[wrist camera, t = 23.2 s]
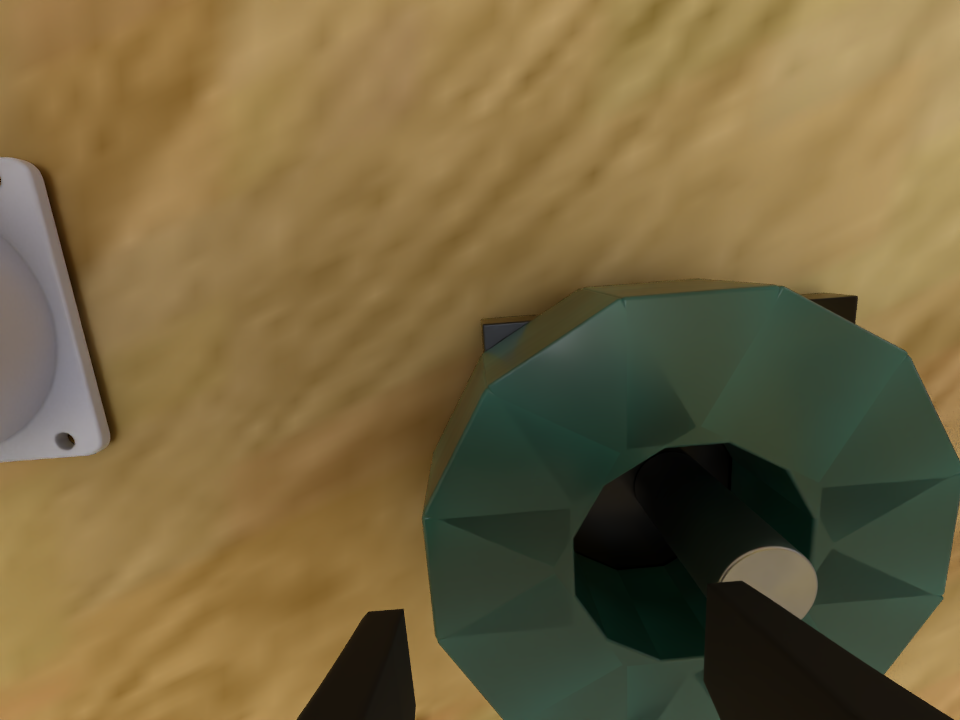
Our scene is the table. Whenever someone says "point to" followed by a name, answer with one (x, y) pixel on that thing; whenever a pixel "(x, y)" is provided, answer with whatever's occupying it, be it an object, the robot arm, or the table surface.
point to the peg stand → (691, 511)
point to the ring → (641, 434)
